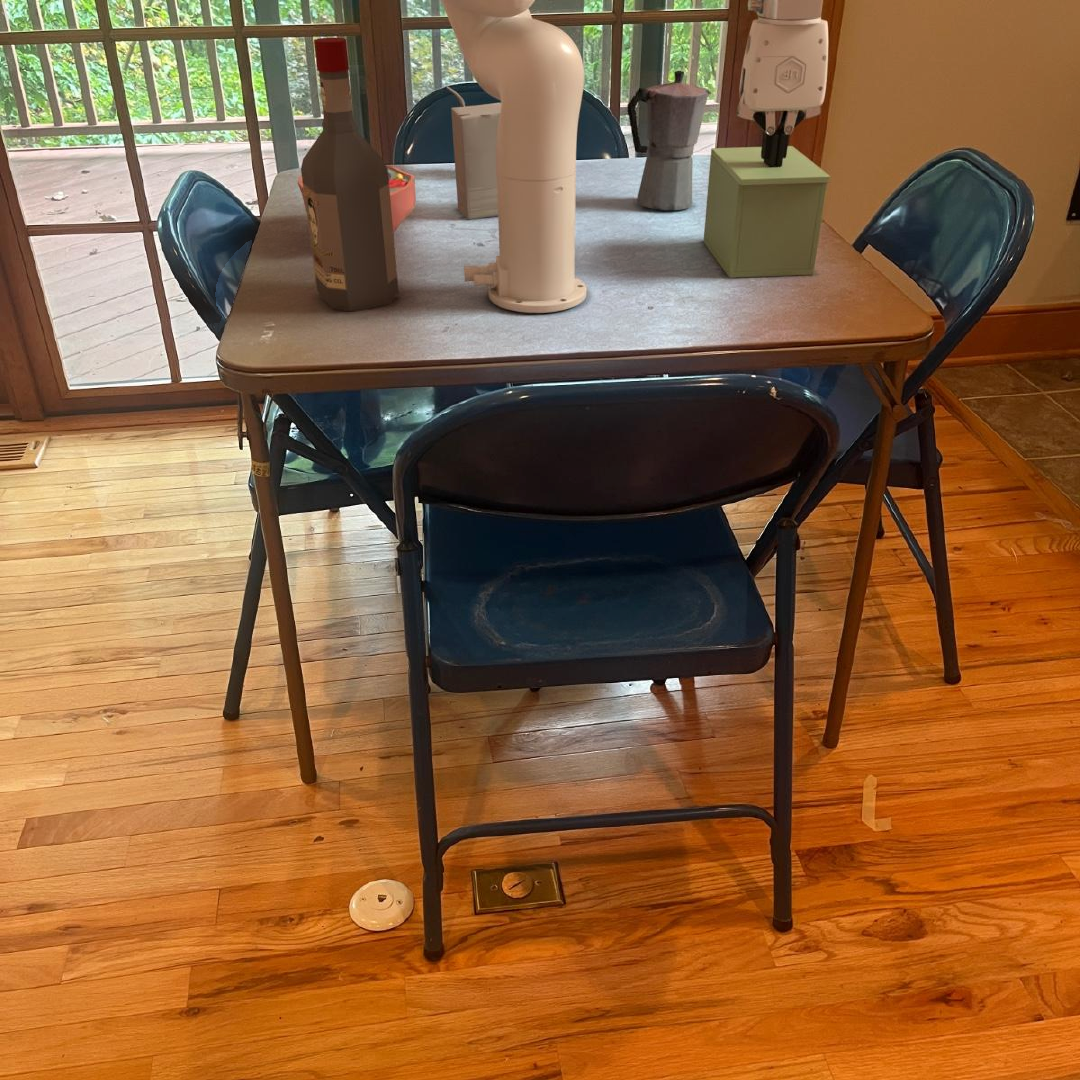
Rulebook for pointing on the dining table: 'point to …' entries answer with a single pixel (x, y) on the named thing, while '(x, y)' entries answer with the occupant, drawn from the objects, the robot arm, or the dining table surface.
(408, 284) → the dining table surface
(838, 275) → the dining table surface
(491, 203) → the cosmetic box
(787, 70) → the robot arm
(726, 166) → the lid
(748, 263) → the chest
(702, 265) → the dining table surface
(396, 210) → the cell model
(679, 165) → the moka pot
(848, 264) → the dining table surface
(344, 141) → the liquor
